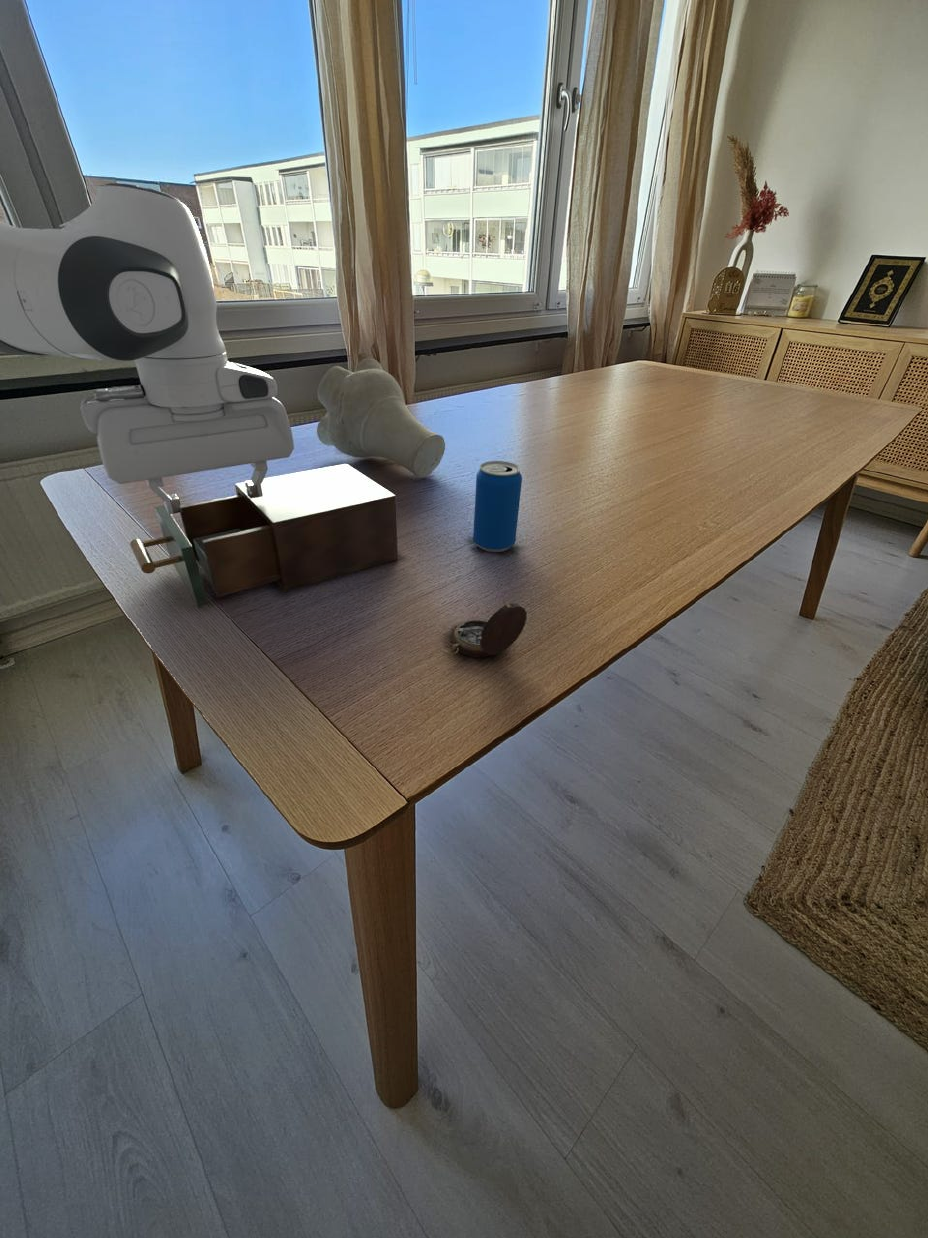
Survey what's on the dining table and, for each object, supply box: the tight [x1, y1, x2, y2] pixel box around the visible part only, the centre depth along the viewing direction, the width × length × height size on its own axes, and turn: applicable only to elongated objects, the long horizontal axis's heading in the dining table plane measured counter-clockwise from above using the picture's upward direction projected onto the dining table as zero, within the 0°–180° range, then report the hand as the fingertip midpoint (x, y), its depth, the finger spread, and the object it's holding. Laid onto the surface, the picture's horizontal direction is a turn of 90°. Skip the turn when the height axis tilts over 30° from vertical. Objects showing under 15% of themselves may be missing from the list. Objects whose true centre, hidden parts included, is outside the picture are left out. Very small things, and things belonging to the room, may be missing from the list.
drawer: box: [129, 494, 281, 609], centre depth 68 cm, size 20×13×8 cm
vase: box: [316, 358, 446, 479], centre depth 103 cm, size 22×22×28 cm
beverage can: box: [472, 460, 523, 553], centre depth 78 cm, size 6×6×12 cm
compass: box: [441, 601, 528, 658], centre depth 58 cm, size 8×8×7 cm
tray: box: [193, 529, 241, 575], centre depth 69 cm, size 6×9×2 cm, turn 36°
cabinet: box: [234, 463, 399, 593], centre depth 74 cm, size 17×15×10 cm
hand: (216, 503), depth 65 cm, fingers open, 8 cm apart
